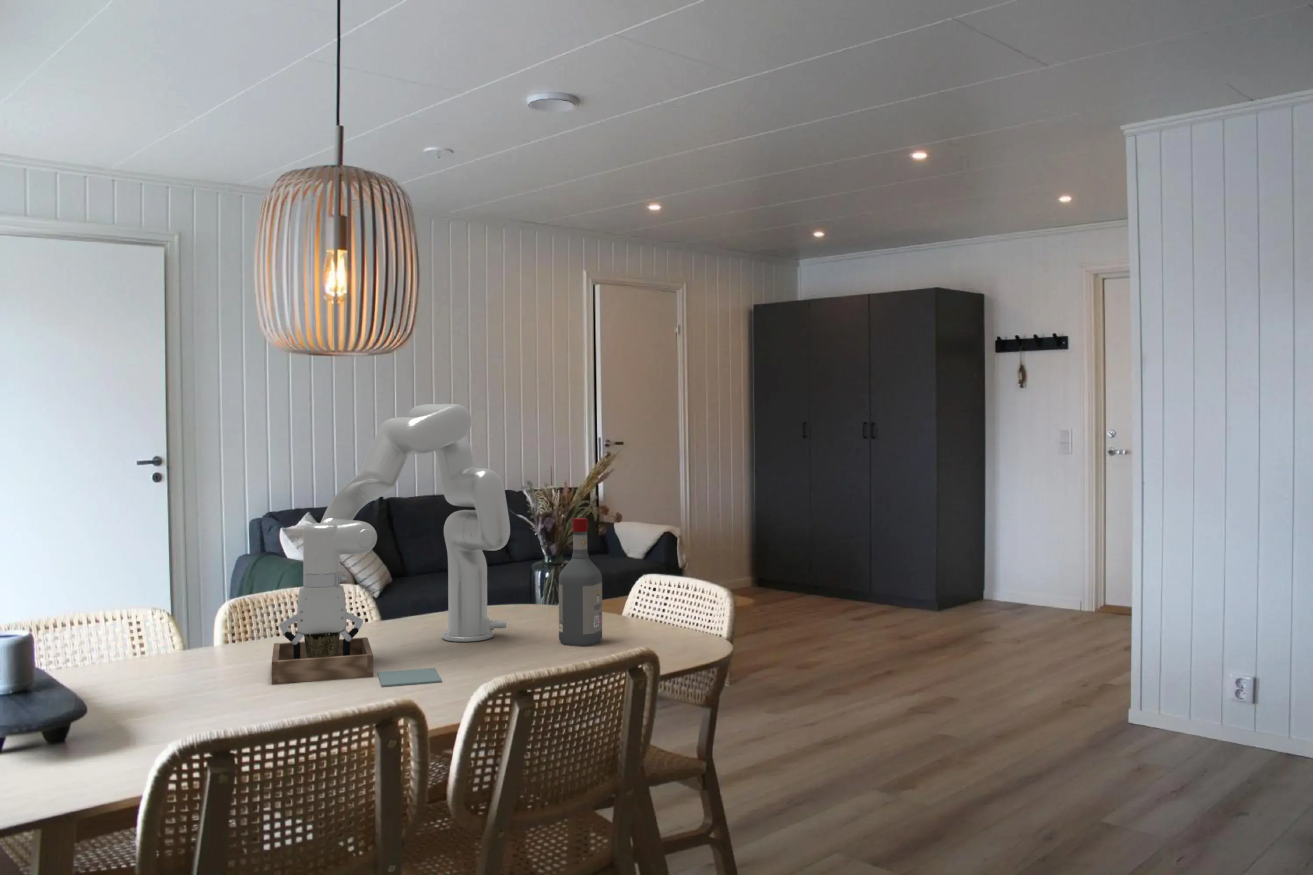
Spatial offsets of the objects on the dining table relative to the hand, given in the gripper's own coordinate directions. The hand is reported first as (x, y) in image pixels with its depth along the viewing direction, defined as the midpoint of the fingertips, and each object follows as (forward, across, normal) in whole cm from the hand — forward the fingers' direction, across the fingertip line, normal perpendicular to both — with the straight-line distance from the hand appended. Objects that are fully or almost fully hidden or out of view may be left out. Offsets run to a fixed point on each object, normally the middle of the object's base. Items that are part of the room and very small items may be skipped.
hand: (321, 660), depth 227 cm
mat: (+2, -17, +14) cm, 22 cm away
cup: (+2, 0, 0) cm, 2 cm away
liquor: (+2, -60, -10) cm, 61 cm away
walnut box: (+2, 0, 0) cm, 2 cm away
